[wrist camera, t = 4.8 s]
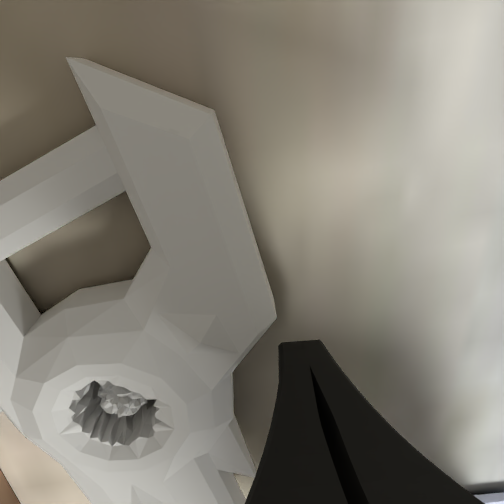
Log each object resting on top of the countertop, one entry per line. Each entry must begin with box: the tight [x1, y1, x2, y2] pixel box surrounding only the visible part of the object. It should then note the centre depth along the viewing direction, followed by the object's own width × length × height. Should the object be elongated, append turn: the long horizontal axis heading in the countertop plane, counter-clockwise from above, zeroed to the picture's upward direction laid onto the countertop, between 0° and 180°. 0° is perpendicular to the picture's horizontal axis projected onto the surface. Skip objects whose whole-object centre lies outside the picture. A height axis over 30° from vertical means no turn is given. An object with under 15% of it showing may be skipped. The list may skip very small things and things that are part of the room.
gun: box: [0, 57, 277, 504], centre depth 13 cm, size 18×4×10 cm
